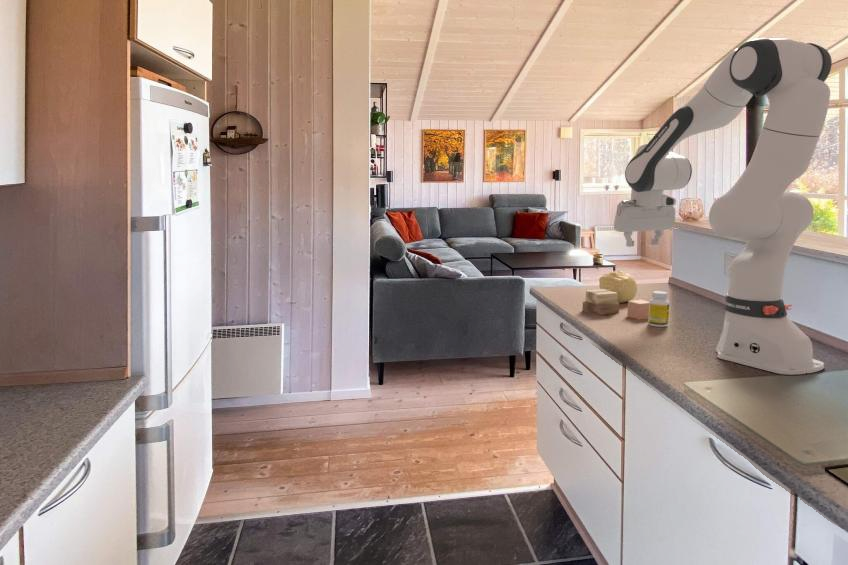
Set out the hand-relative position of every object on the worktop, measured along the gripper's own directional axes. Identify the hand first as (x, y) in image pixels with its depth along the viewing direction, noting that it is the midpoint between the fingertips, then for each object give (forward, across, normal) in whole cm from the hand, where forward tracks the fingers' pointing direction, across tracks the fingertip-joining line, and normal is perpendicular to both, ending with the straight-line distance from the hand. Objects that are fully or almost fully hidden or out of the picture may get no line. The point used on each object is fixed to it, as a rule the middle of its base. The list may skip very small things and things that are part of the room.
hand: (642, 245), depth 173 cm
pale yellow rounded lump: (+24, +10, +21) cm, 33 cm away
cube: (+22, 0, -1) cm, 22 cm away
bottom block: (+23, -6, +10) cm, 26 cm away
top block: (+20, -6, +10) cm, 23 cm away
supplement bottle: (+22, -2, -11) cm, 25 cm away
